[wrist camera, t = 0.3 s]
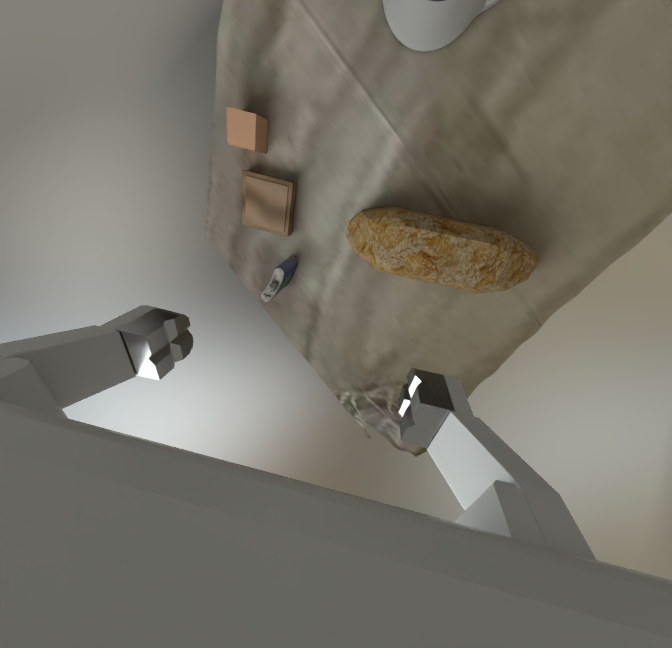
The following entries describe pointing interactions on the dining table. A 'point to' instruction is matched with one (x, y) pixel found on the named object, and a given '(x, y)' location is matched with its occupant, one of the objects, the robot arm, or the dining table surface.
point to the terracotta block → (247, 130)
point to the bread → (440, 249)
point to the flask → (279, 278)
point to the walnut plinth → (268, 202)
